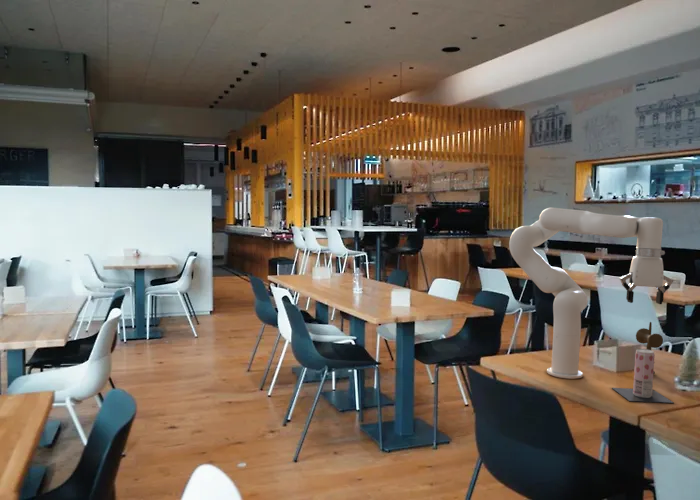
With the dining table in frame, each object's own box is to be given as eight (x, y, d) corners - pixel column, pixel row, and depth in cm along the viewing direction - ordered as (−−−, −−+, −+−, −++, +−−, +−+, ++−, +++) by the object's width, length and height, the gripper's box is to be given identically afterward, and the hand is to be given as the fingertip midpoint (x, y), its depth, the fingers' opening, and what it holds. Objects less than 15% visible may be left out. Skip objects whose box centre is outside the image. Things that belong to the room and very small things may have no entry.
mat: (611, 388, 204) (611, 387, 204) (653, 390, 204) (653, 389, 203) (629, 401, 190) (629, 400, 190) (673, 403, 190) (673, 402, 190)
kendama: (648, 370, 230) (651, 319, 229) (662, 377, 220) (665, 324, 219) (632, 370, 230) (636, 319, 229) (646, 377, 220) (649, 323, 219)
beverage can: (650, 393, 198) (653, 349, 197) (653, 398, 193) (656, 353, 192) (631, 391, 200) (634, 348, 199) (634, 396, 194) (637, 351, 193)
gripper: (669, 253, 206) (665, 302, 207) (618, 251, 207) (614, 300, 209) (679, 255, 199) (675, 306, 200) (626, 253, 200) (622, 303, 201)
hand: (644, 302), depth 204 cm, fingers open, 9 cm apart
